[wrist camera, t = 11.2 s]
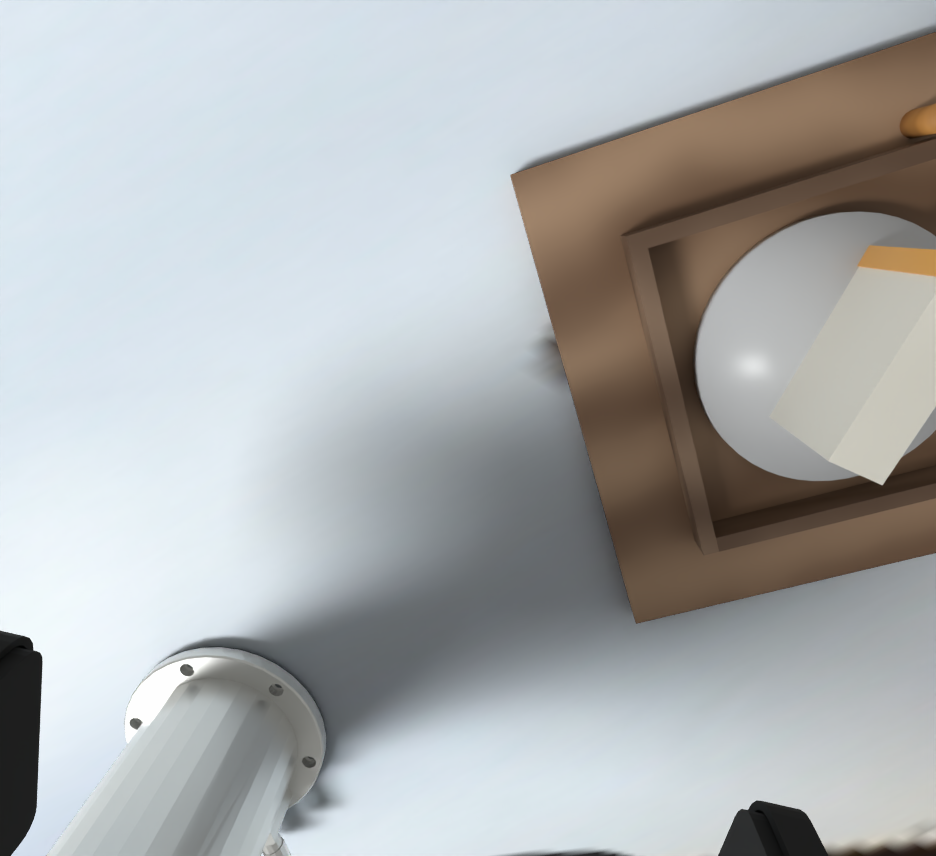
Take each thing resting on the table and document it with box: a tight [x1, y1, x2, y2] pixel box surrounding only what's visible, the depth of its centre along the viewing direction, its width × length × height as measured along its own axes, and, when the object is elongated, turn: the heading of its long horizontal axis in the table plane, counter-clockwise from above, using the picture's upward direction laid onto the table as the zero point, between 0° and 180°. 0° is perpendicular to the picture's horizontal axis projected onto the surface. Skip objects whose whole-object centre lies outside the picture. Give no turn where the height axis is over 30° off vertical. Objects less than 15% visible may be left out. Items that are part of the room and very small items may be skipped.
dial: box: [693, 212, 936, 485], centre depth 30 cm, size 13×13×7 cm
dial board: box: [511, 32, 936, 624], centre depth 33 cm, size 25×25×4 cm
